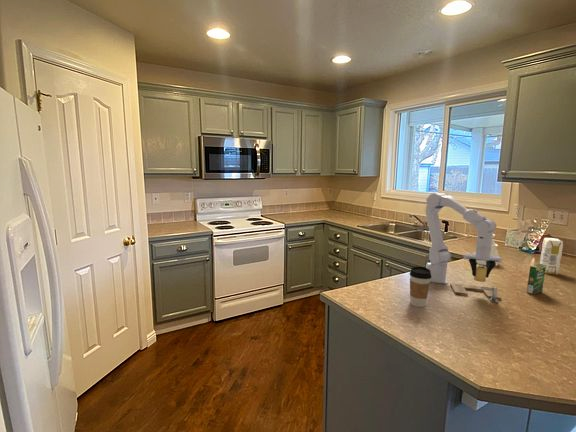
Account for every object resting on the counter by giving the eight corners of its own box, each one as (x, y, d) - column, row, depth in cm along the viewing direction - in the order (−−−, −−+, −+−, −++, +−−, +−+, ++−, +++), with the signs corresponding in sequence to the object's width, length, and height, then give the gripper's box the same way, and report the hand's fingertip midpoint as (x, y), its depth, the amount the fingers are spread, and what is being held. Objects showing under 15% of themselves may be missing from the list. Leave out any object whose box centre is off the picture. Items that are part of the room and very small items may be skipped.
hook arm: (480, 300, 137) (482, 287, 136) (478, 297, 140) (480, 284, 139) (498, 302, 135) (500, 289, 134) (496, 300, 138) (497, 286, 137)
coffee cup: (427, 301, 134) (431, 267, 132) (429, 309, 126) (433, 273, 124) (406, 298, 137) (409, 265, 135) (407, 306, 129) (410, 271, 127)
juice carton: (542, 273, 175) (547, 240, 173) (537, 269, 183) (542, 237, 180) (559, 275, 173) (565, 241, 170) (553, 271, 181) (558, 238, 178)
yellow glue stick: (475, 281, 141) (476, 267, 140) (472, 277, 145) (474, 264, 144) (486, 282, 140) (488, 268, 139) (483, 279, 144) (485, 265, 143)
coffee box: (532, 295, 144) (536, 267, 142) (525, 292, 147) (529, 265, 145) (542, 292, 148) (546, 265, 146) (535, 290, 150) (539, 263, 148)
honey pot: (497, 262, 196) (501, 233, 193) (498, 267, 185) (502, 237, 183) (473, 258, 203) (477, 230, 200) (472, 263, 192) (476, 234, 189)
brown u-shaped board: (455, 294, 143) (455, 292, 143) (450, 285, 154) (450, 282, 154) (501, 300, 137) (501, 297, 137) (492, 290, 149) (492, 287, 149)
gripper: (467, 247, 139) (463, 276, 141) (505, 250, 134) (501, 281, 136) (463, 243, 145) (460, 272, 147) (500, 246, 141) (496, 275, 143)
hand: (480, 276), depth 142 cm, fingers closed on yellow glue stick, 4 cm apart
